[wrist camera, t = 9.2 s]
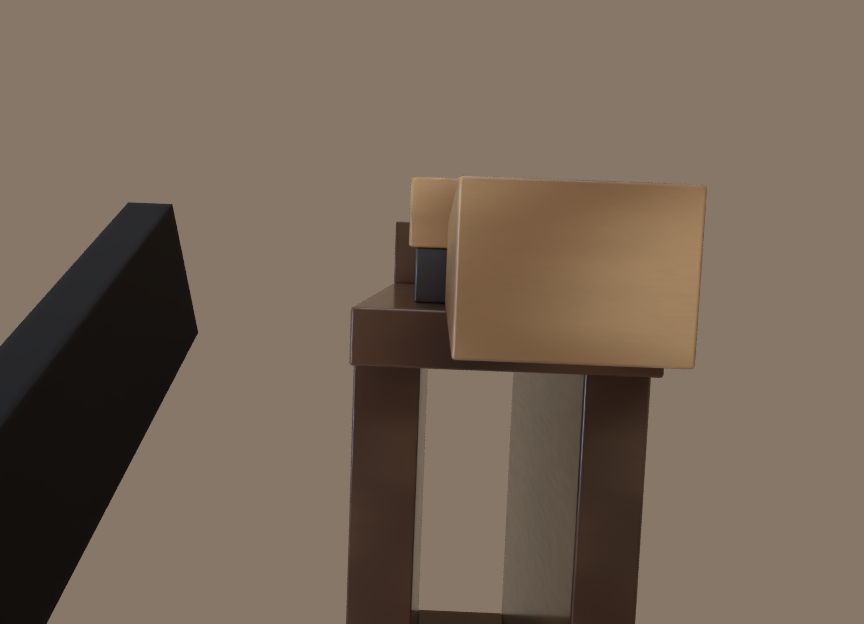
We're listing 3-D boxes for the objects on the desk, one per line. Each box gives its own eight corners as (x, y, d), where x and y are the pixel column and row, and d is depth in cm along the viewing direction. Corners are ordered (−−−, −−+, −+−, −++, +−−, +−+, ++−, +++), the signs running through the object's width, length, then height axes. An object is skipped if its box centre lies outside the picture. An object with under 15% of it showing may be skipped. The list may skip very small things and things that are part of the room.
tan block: (367, 356, 9) (376, 76, 9) (416, 288, 29) (420, 201, 29) (779, 373, 9) (801, 91, 9) (546, 293, 29) (551, 206, 29)
